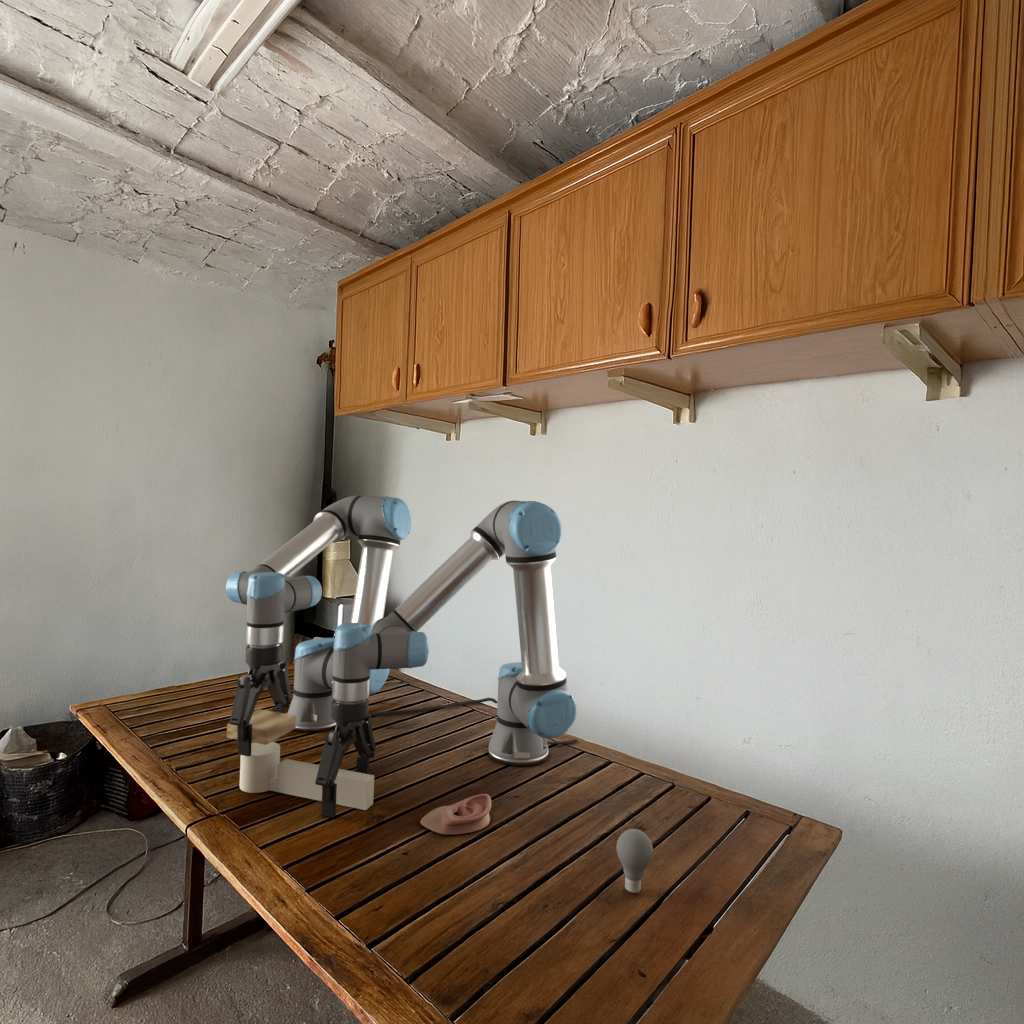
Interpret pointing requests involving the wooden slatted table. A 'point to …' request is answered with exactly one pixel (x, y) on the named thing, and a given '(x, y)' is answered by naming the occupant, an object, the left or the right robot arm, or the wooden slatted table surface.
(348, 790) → the toy wooden mallet
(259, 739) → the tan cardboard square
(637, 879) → the light bulb
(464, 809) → the anatomical model
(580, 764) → the wooden slatted table surface
